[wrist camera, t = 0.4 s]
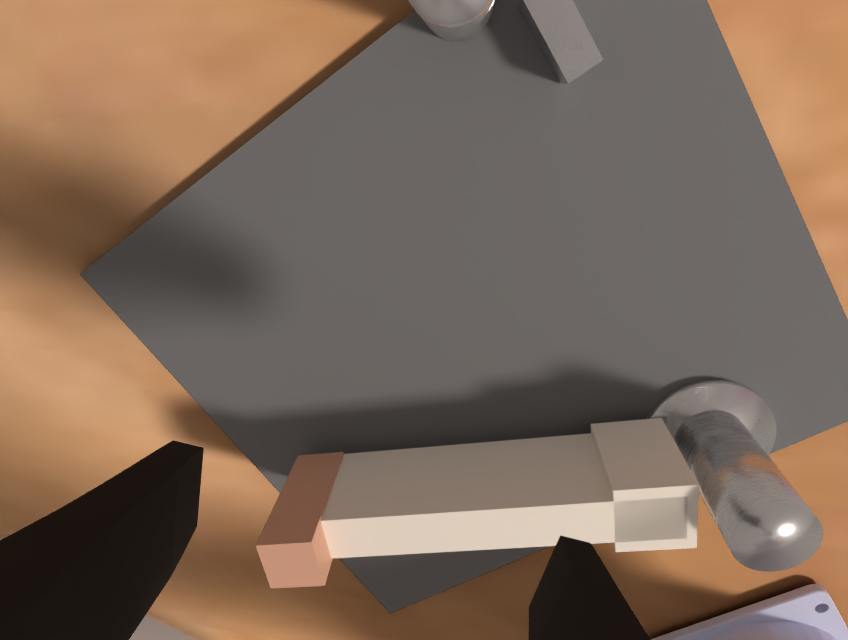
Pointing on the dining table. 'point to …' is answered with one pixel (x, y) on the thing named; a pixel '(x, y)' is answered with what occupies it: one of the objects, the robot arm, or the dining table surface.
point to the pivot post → (740, 472)
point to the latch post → (546, 17)
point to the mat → (489, 257)
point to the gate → (482, 499)
